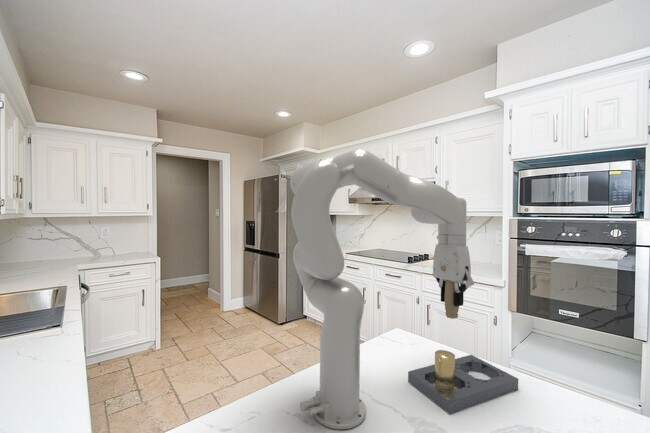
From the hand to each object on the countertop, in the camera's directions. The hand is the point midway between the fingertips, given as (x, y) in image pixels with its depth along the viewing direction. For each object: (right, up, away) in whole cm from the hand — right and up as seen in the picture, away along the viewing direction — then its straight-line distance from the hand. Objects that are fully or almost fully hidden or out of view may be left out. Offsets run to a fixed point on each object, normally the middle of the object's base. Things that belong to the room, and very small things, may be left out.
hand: (451, 302), depth 88 cm
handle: (0, -4, 0) cm, 4 cm away
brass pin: (-5, -22, -7) cm, 23 cm away
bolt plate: (+1, -22, -4) cm, 22 cm away
